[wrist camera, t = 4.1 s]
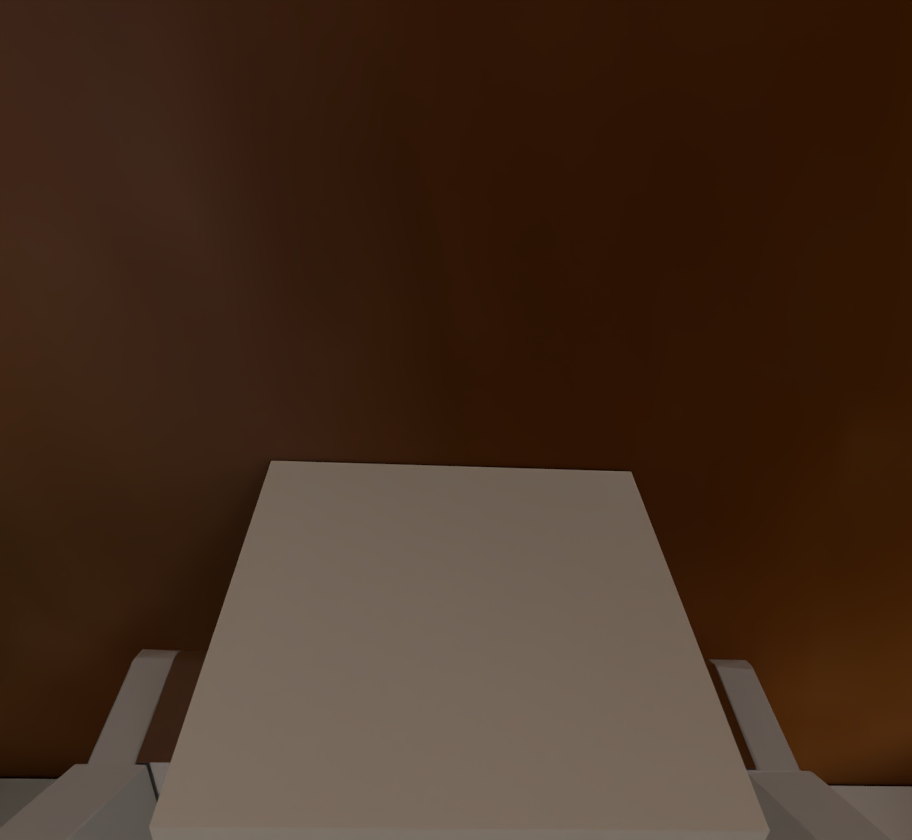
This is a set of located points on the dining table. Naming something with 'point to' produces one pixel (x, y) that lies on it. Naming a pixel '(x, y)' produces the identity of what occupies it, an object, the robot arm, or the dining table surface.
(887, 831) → the white flat board
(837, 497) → the dining table surface
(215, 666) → the off-white block
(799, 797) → the robot arm
